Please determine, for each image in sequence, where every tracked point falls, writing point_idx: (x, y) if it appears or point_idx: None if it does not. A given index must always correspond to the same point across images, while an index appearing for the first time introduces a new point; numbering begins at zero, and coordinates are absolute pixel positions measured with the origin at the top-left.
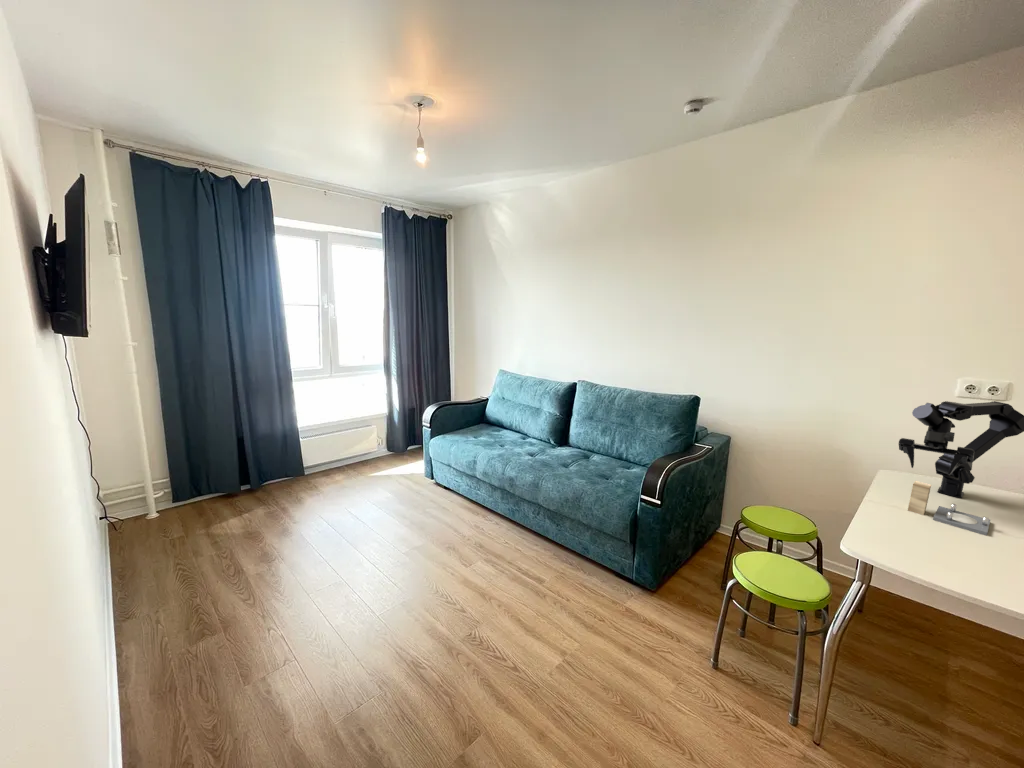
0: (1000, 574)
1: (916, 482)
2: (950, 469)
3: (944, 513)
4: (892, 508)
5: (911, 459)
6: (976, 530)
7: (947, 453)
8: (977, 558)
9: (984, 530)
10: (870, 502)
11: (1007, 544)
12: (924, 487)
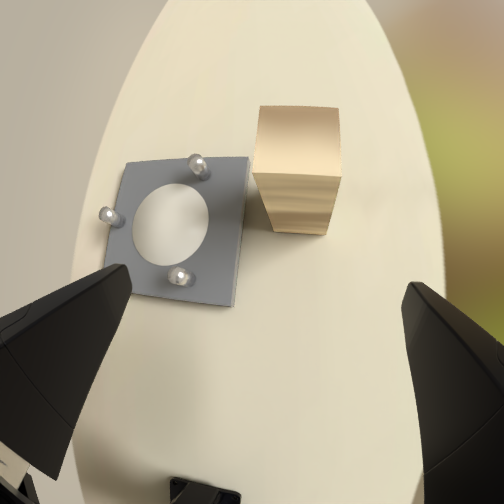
0: (161, 33)
1: (330, 148)
2: (90, 282)
3: (214, 227)
4: (369, 172)
5: (468, 324)
6: (147, 161)
7: (27, 501)
8: (179, 48)
9: (129, 173)
10: (431, 176)
11: (105, 158)
12: (282, 108)
